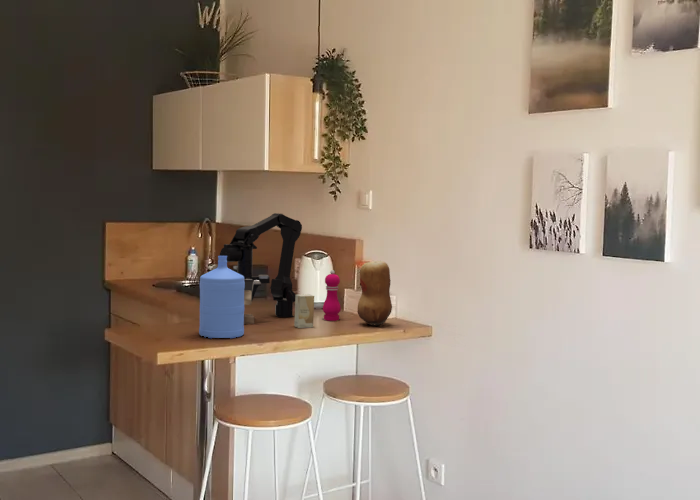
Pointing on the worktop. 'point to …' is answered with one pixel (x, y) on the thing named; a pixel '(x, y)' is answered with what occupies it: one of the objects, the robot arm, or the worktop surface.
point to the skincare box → (304, 311)
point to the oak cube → (247, 297)
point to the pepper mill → (331, 297)
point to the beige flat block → (248, 319)
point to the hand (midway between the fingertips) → (244, 301)
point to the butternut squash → (375, 293)
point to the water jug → (222, 302)
